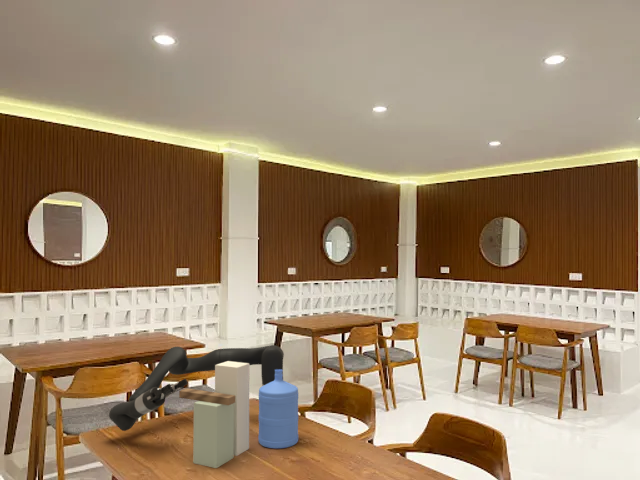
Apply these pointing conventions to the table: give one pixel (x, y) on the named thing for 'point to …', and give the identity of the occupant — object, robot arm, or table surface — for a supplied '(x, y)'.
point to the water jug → (278, 413)
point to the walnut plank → (207, 396)
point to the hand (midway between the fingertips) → (178, 383)
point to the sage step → (213, 433)
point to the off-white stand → (236, 398)
